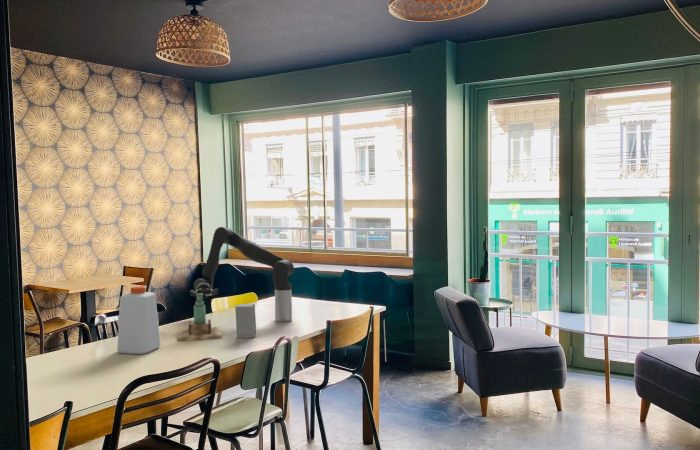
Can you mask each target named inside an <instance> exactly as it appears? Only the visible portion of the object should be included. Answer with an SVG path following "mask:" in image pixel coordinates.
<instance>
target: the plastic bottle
mask: <svg viewBox="0 0 700 450" xmlns="http://www.w3.org/2000/svg"><path fill="white" fill-rule="evenodd" d="M157 308H158V306H157V297H156V293H155V292H151V291H150V292H149V291H146V287H145V286H139V285H138V286H133V287H130V292H128V293H125V294H122V295H121V296H120V297H119V312H118V314H119V315H118V329H117V330H118V333H117V349H116V351H117V352H118V353H119V354H128V355H129V354H130V355H145V354H149V353H150V352H153V351H155V350H157V349H159V348H160V346H161V340H160V328H159V316H158V309H157Z"/></svg>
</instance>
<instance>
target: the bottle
mask: <svg viewBox="0 0 700 450" xmlns="http://www.w3.org/2000/svg"><path fill="white" fill-rule="evenodd" d="M202 295H203V293H197V294H196V301H195V304H194V305H193V324H204V323H207V321H206V316H207V315H206V312H207V311H206V304H204V303H205V301H204V300H203V298H202Z"/></svg>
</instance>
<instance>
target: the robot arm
mask: <svg viewBox="0 0 700 450" xmlns="http://www.w3.org/2000/svg"><path fill="white" fill-rule="evenodd" d="M224 244H225V245H229V246H231V247H233V248H234V249H236V250H238V251H240V253H241V254H242V255H243V256H245V257H246V258H247V259H249V260H251V261H253V262H254V263H255V262H256V263H258V264H262V265H265V266H269V267H271V268H272V282H273V286H274V321H276V322H278V323H279V322H283V323H284V322H292V320H293V306H292V305H293V304H292V303H293V299H292V297H293V295H292V294H293V293H292V289H293V288H292V283H290V281H289V276H291V275H292V274H293V273H294V271H295V266H294V264H293V262H292V261H290V260H288V259H286V258H284V257H281V256H279V255H277V254H275V253H273V252H271V251H270V250H268V249H266V248H264V247H263V246H261V245H259V244H257V242H254V241H252V240H249V239H248V238H245V237H243V236H241V235H239V234H238V233H237V232H235V230H233V229H231V228H228V227H226V226H225V227H223V226H219V227H217V228H216V229H215V230H214V233H213V237H212V241H211V245H210V250H209V253H208V256H207V259H206V262H205V264H204V267H203V270H202V275H203V276H204V277H206V278H207V280H206V279H203V278H196V280H194V283H193V289H190V291H189V296H190V297H194V298H197V296H196V294H197V293H203V295H202V299H206V298H208V297H209V296H212V297H214V296H218V295H219V289H218V288H216V287H215V288H214V280H215V279H214V278H215V275H216V272H217V270H218V267H219V264H220V254H221V250H222V247H223V245H224ZM213 288H214V289H213Z"/></svg>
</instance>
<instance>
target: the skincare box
mask: <svg viewBox="0 0 700 450" xmlns="http://www.w3.org/2000/svg"><path fill="white" fill-rule="evenodd" d="M234 308H235V309H234V311H235V322H236V323H235V325H236V338H237V339H253V338H255V336H257V322H256V321H257V320H256V305H255V303H239V304H238V305H236V306H235V307H234Z"/></svg>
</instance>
